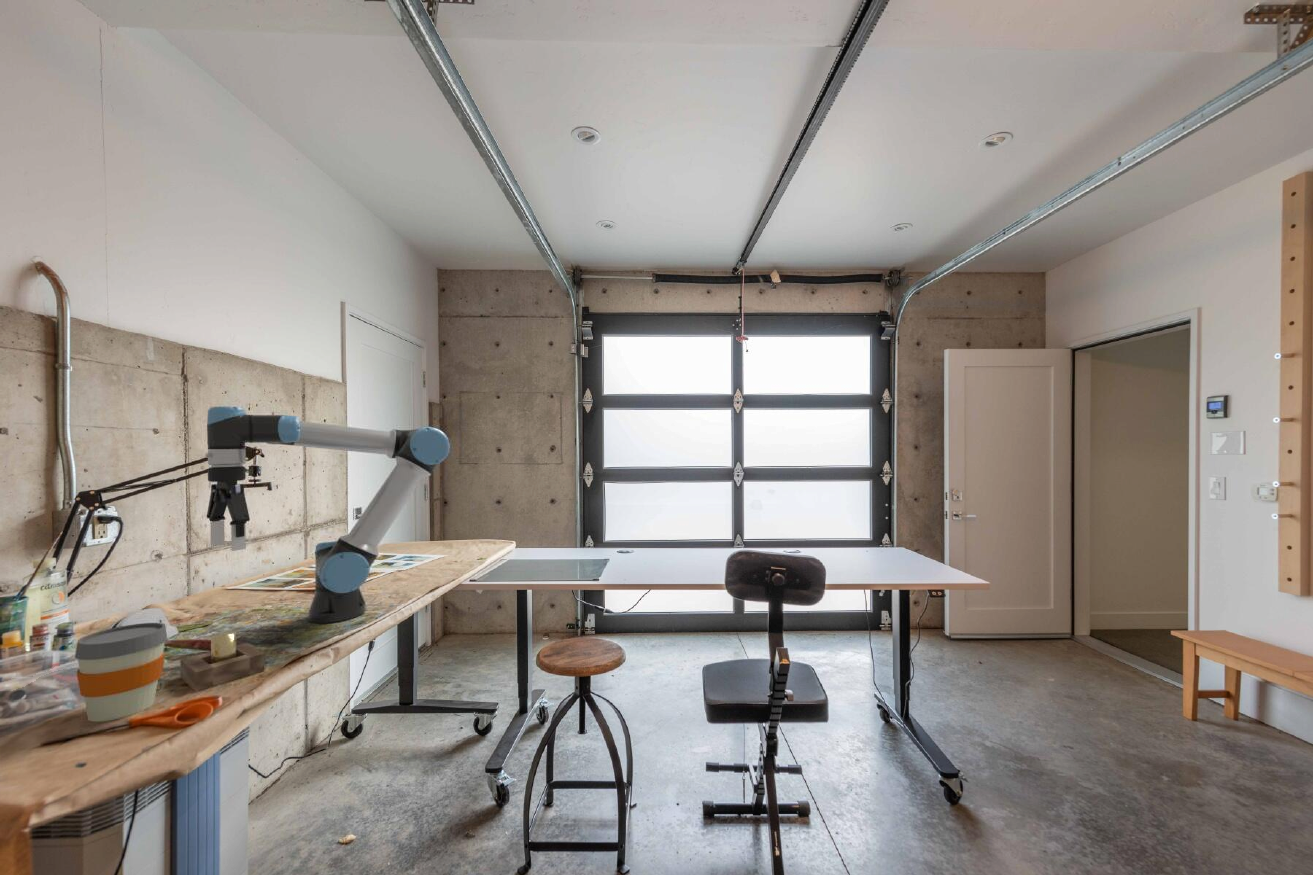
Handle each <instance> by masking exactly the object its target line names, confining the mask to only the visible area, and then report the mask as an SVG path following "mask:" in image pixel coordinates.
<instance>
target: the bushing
mask: <svg viewBox="0 0 1313 875" xmlns="http://www.w3.org/2000/svg"><path fill="white" fill-rule="evenodd" d="M236 645H237V631H236V630H229V631H228V630H227V631H221V632H217V633H215V634H212V636H211V637H210V652H211V664H213V663H217V662H221V661H224V660H228V659H232V658H235V657H236Z"/></svg>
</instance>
